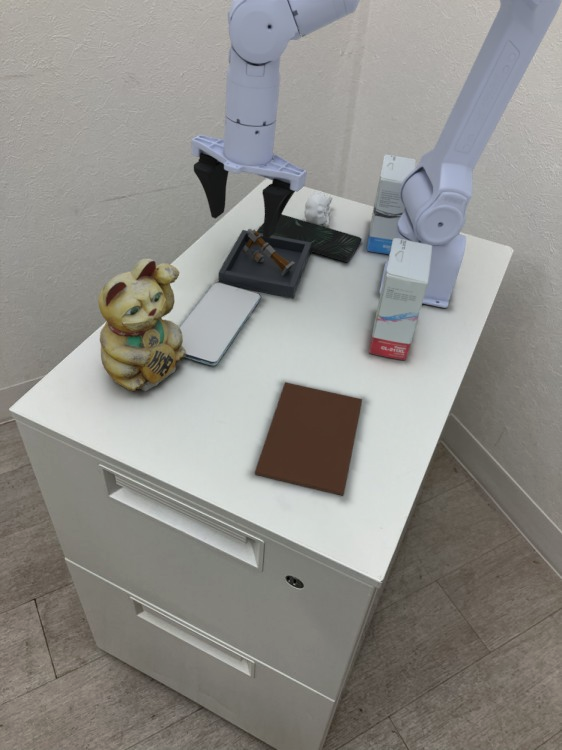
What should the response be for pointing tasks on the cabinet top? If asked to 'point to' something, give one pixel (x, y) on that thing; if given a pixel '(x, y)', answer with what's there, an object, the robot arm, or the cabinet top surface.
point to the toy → (318, 208)
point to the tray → (265, 266)
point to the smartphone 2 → (317, 237)
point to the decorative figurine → (140, 326)
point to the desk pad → (311, 439)
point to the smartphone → (216, 321)
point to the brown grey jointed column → (266, 251)
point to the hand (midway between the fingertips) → (243, 224)
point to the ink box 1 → (388, 203)
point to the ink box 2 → (401, 298)
